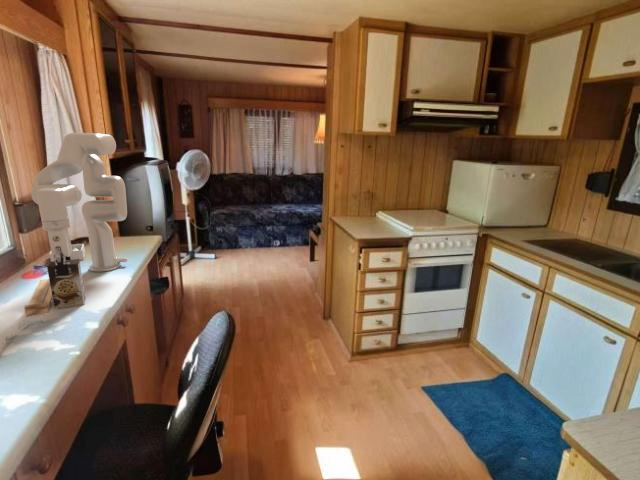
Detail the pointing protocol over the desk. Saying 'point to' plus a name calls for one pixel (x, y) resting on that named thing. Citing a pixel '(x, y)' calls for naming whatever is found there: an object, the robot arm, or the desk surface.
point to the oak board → (40, 299)
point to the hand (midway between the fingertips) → (64, 270)
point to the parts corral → (74, 253)
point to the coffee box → (67, 285)
